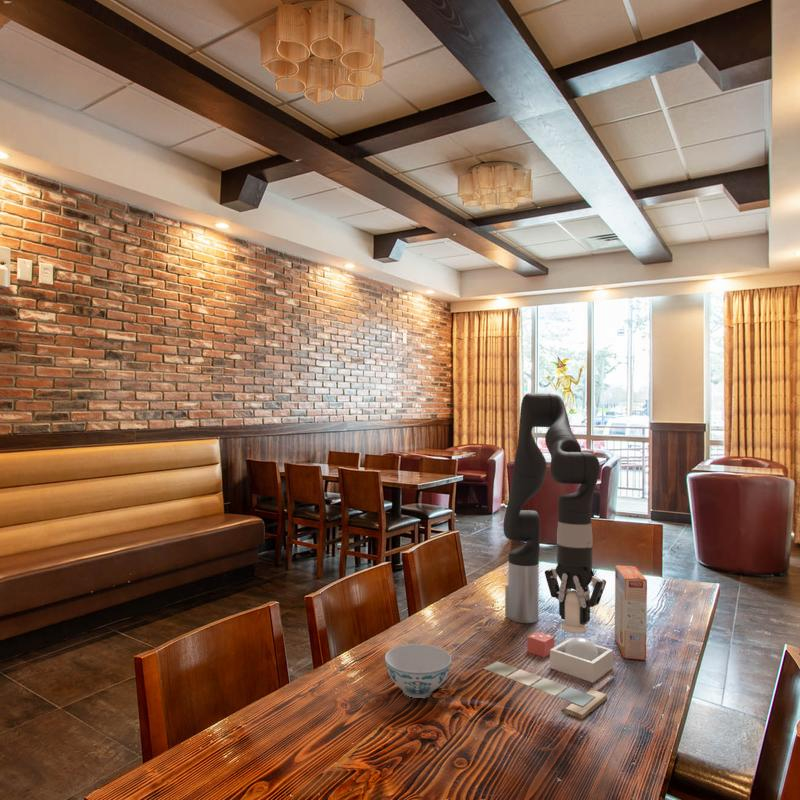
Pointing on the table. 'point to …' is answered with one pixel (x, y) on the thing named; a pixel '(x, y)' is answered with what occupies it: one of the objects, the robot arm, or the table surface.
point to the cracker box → (630, 612)
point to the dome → (582, 649)
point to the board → (554, 689)
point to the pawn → (573, 614)
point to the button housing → (582, 663)
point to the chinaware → (418, 668)
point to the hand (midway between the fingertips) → (574, 620)
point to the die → (540, 644)
